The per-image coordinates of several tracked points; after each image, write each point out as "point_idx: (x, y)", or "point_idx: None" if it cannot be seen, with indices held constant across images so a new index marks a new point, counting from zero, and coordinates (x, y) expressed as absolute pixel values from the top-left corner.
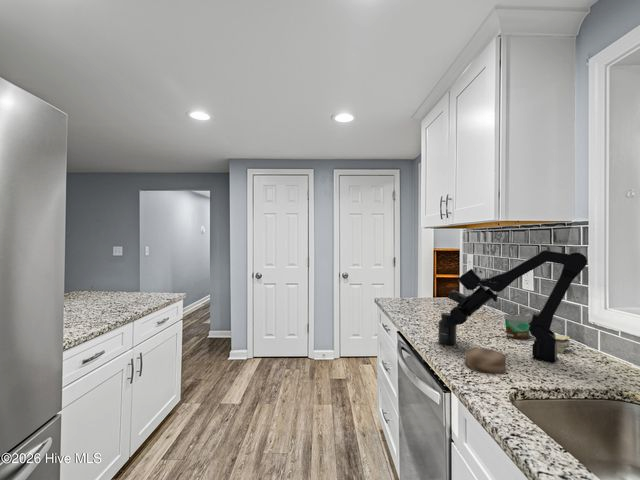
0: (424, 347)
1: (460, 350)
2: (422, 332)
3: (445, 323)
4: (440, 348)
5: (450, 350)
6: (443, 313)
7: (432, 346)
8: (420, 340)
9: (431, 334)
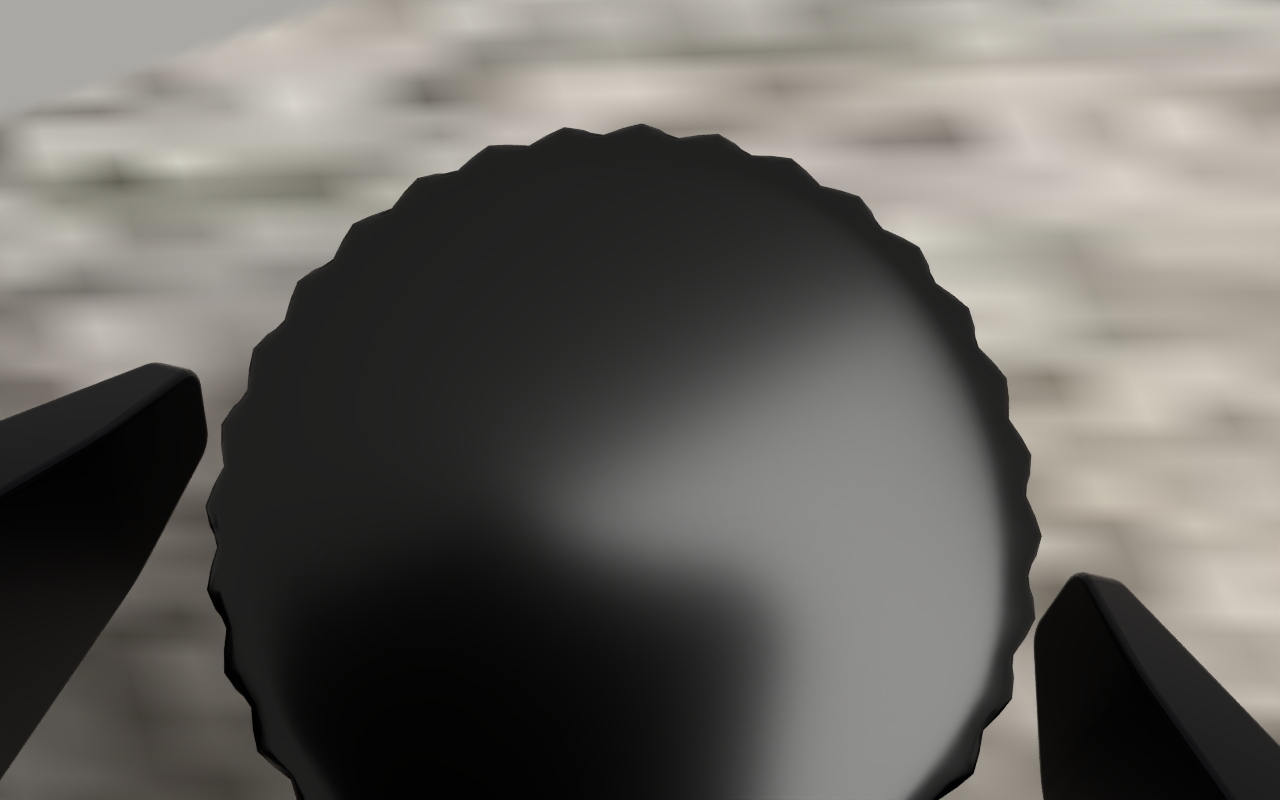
0: (208, 92)
1: (212, 785)
2: (1271, 15)
3: (21, 426)
4: (233, 386)
5: (154, 580)
6: (677, 247)
7: (321, 234)
8: (657, 3)
9: (1195, 196)
